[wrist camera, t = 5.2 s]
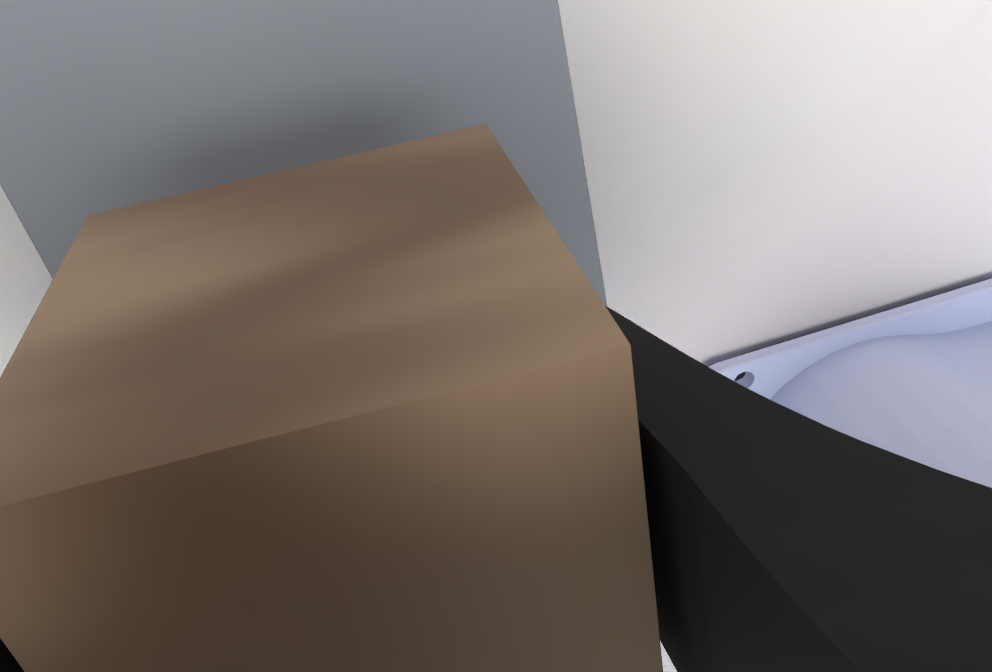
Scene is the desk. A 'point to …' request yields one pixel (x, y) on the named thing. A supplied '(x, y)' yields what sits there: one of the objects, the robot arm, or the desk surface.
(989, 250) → the desk surface
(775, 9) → the desk surface
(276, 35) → the plinth
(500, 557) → the block
